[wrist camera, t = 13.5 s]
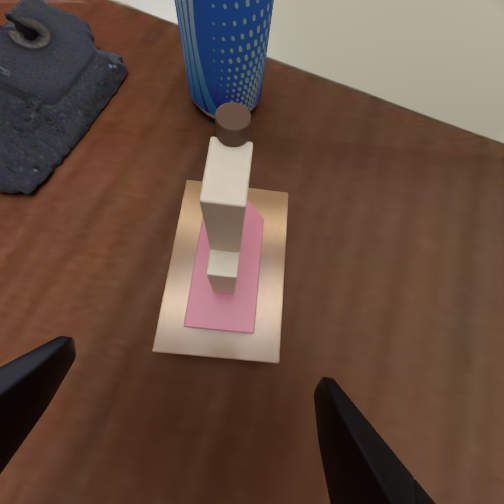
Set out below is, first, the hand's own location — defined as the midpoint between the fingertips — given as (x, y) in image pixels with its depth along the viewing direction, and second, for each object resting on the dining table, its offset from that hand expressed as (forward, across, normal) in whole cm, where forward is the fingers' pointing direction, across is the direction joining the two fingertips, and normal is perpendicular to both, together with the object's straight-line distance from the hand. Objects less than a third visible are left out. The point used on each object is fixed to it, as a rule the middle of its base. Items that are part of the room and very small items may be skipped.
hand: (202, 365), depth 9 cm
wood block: (+14, -1, +4) cm, 15 cm away
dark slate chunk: (+26, +25, -6) cm, 36 cm away
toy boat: (+11, 0, +2) cm, 11 cm away
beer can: (+29, +4, -11) cm, 32 cm away
